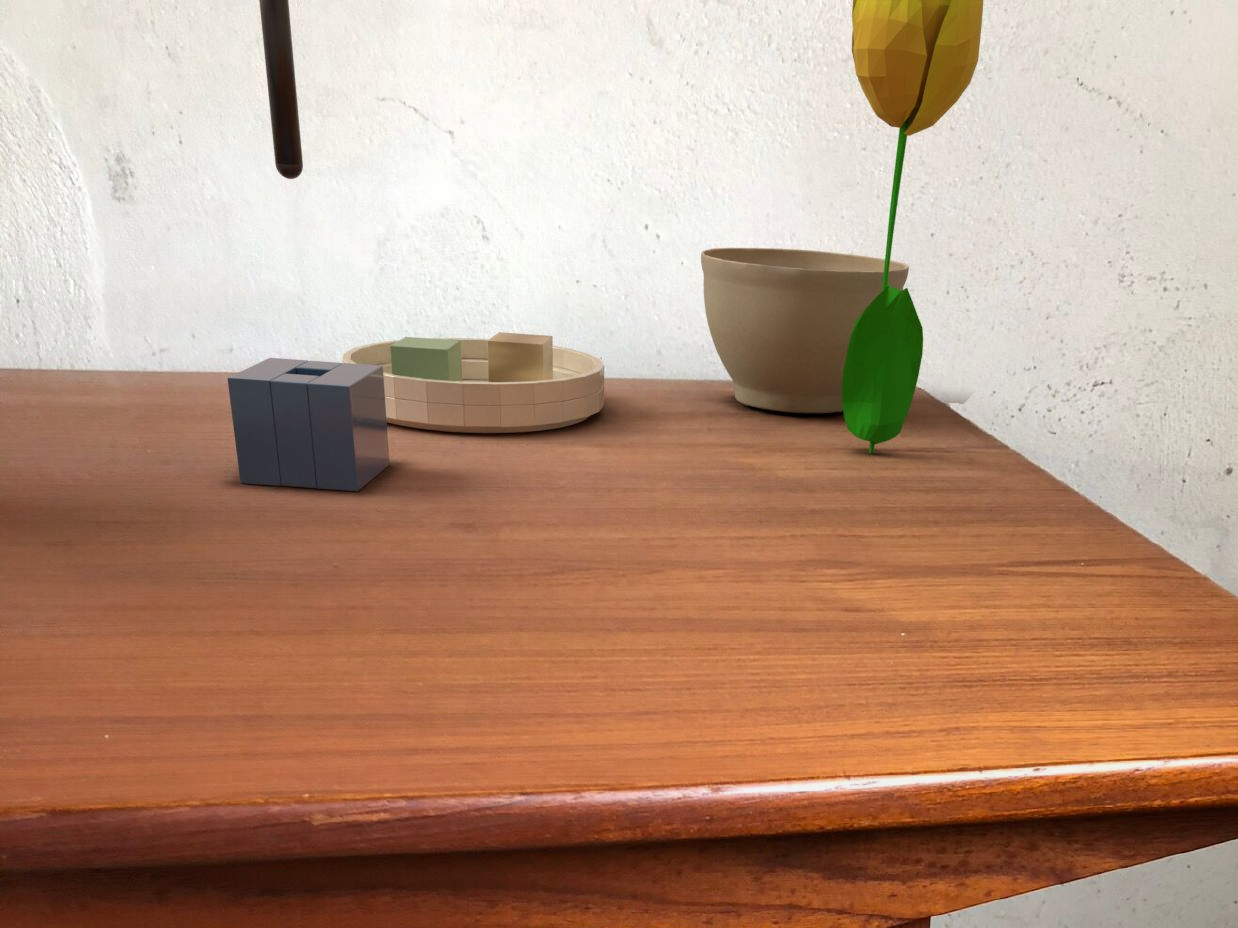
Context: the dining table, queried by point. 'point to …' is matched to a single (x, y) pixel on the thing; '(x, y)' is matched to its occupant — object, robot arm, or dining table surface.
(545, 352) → the birch block
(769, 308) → the planter bowl
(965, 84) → the flower
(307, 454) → the stick holder
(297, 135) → the stirring stick
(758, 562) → the dining table surface
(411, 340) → the sage block
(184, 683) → the dining table surface
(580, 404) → the cream bowl
